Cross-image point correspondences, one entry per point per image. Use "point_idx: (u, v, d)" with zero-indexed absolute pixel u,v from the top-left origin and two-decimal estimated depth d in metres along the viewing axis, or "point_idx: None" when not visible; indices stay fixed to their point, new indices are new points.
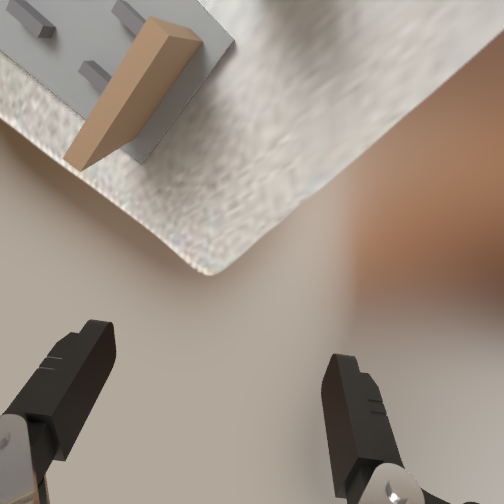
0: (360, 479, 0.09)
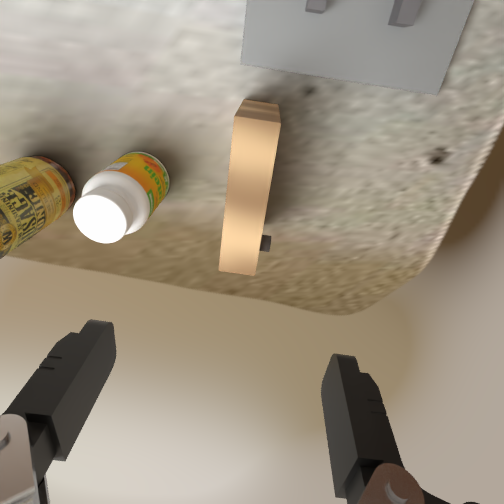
0: (360, 479, 0.09)
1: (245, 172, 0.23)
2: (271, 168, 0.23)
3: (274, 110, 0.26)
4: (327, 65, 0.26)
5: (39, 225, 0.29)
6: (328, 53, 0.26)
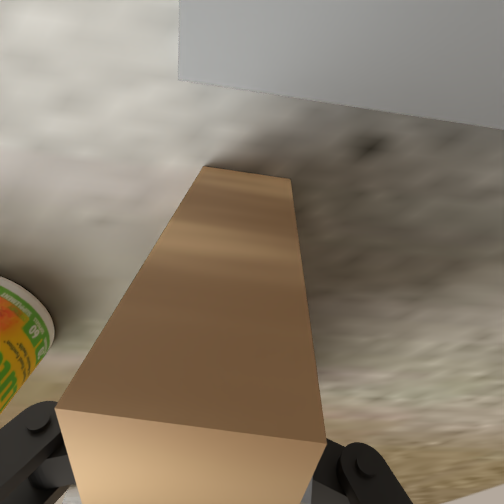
0: None
1: None
2: None
3: (282, 229, 0.08)
4: (437, 83, 0.09)
5: None
6: (447, 47, 0.08)
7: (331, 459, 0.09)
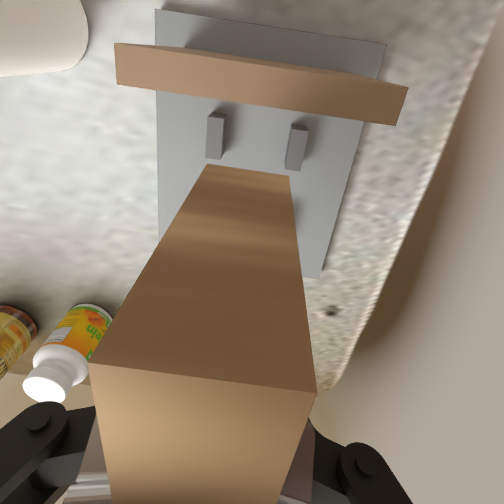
0: None
1: (173, 498, 0.06)
2: (270, 498, 0.06)
3: (281, 220, 0.09)
4: None
5: (2, 375, 0.35)
6: None
7: (331, 459, 0.09)
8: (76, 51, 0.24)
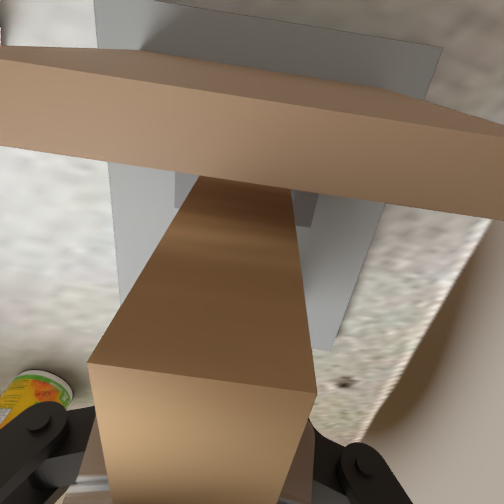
0: None
1: (173, 500, 0.06)
2: (271, 498, 0.06)
3: (281, 220, 0.09)
4: None
5: None
6: None
7: (331, 459, 0.09)
8: None
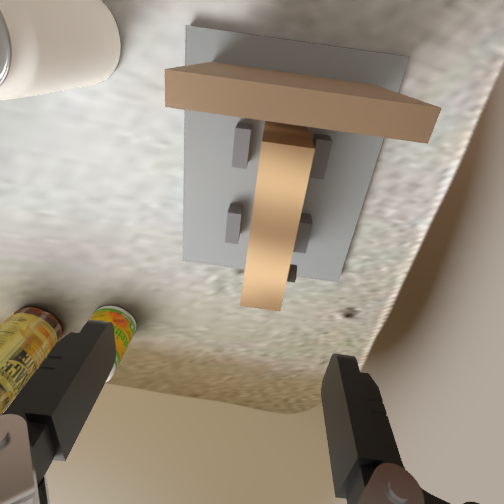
0: (360, 479, 0.09)
1: (272, 202, 0.20)
2: (302, 198, 0.20)
3: (302, 129, 0.23)
4: None
5: (31, 375, 0.37)
6: None
7: None
8: (110, 66, 0.25)
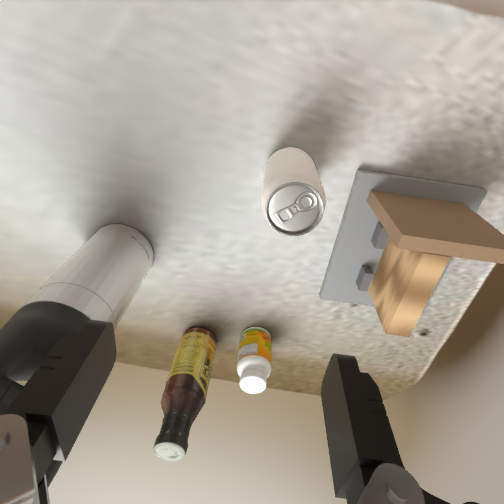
0: (360, 479, 0.09)
1: (421, 280, 0.37)
2: (438, 279, 0.37)
3: None
4: (365, 300, 0.50)
5: None
6: (366, 296, 0.50)
7: None
8: None
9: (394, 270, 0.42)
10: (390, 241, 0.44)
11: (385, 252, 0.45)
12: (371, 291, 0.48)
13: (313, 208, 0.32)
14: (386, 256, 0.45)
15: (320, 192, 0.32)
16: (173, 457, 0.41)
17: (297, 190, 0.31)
